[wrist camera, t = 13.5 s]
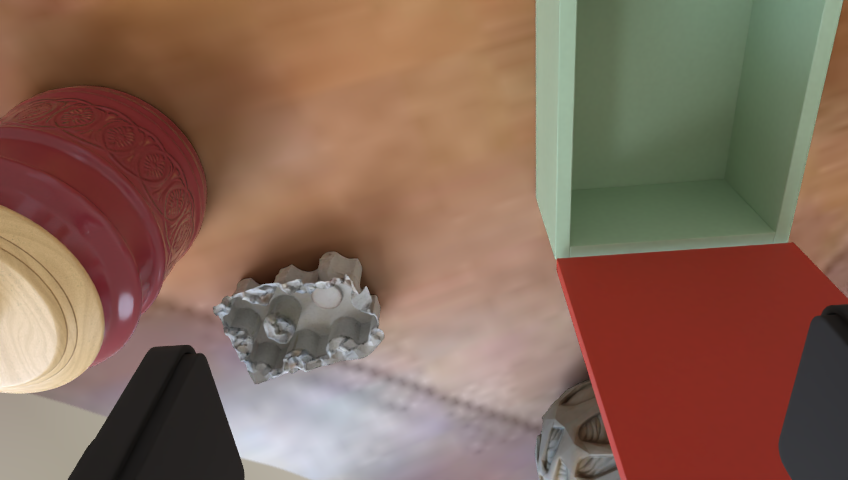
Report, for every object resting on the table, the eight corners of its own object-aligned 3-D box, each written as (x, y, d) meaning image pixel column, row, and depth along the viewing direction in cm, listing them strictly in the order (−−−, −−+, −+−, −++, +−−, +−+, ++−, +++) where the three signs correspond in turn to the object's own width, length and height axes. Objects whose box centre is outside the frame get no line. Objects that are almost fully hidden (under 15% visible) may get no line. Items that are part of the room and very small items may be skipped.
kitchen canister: (0, 58, 38) (-297, 180, 22) (218, 105, 39) (79, 252, 24) (20, 240, 44) (-201, 433, 29) (207, 276, 45) (91, 479, 30)
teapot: (594, 496, 57) (642, 681, 44) (479, 459, 54) (493, 642, 41) (746, 323, 47) (866, 495, 34) (612, 269, 45) (686, 431, 31)
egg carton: (356, 240, 44) (350, 272, 40) (391, 323, 47) (388, 359, 44) (218, 278, 45) (200, 312, 42) (262, 356, 49) (249, 393, 45)
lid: (641, 527, 20) (629, 618, 23) (1052, 509, 20) (990, 606, 22) (556, 258, 34) (555, 333, 37) (793, 242, 34) (774, 320, 36)
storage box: (535, -61, 34) (560, -45, 27) (774, -84, 33) (860, -74, 27) (535, 198, 42) (555, 259, 35) (730, 183, 41) (787, 244, 34)
